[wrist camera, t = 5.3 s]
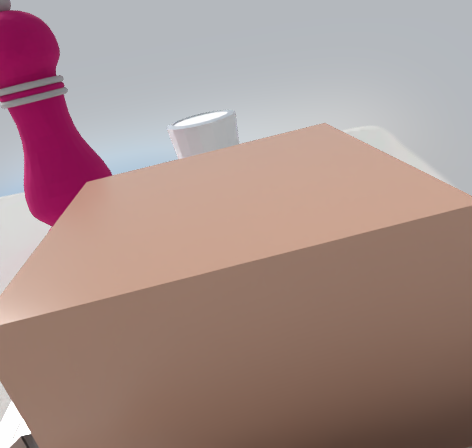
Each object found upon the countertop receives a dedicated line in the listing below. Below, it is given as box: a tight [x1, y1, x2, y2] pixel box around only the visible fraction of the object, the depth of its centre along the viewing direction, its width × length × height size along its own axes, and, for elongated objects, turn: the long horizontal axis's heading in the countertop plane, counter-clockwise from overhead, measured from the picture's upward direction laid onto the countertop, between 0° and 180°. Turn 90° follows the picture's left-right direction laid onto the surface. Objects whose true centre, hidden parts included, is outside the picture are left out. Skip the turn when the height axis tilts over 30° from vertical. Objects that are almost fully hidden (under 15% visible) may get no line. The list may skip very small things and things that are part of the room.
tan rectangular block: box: [0, 123, 472, 448], centre depth 10 cm, size 7×7×10 cm
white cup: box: [167, 110, 239, 159], centre depth 42 cm, size 7×7×7 cm
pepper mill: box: [0, 0, 112, 231], centre depth 34 cm, size 7×7×20 cm
